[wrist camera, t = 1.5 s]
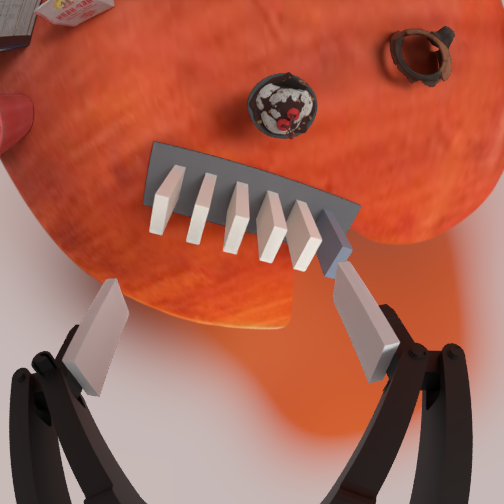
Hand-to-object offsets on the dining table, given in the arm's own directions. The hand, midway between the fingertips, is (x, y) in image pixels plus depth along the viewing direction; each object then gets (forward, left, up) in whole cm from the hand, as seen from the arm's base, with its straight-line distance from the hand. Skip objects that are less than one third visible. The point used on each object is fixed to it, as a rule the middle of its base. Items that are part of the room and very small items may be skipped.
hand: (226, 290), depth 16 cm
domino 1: (+5, -7, -25) cm, 27 cm away
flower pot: (-1, -38, -26) cm, 46 cm away
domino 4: (+5, +6, -25) cm, 26 cm away
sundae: (-10, +2, -26) cm, 27 cm away
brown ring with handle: (-26, +18, -26) cm, 41 cm away
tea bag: (-19, -27, -26) cm, 42 cm away
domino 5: (+5, +11, -25) cm, 28 cm away
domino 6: (+5, +15, -25) cm, 30 cm away
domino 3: (+5, +2, -25) cm, 26 cm away
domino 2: (+5, -3, -25) cm, 26 cm away
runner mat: (+5, +4, -26) cm, 26 cm away
